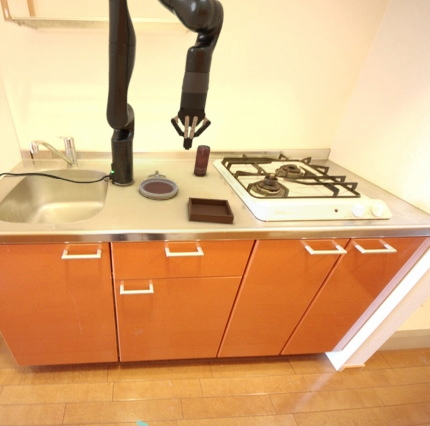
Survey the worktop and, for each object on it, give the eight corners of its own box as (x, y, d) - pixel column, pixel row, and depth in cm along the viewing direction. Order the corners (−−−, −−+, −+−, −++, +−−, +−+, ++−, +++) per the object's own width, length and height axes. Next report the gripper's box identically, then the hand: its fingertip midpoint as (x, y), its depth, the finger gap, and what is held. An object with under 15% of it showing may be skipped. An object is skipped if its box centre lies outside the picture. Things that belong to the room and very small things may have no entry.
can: (193, 176, 111) (197, 148, 103) (193, 171, 116) (197, 144, 109) (206, 177, 110) (211, 149, 103) (205, 172, 115) (210, 145, 108)
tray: (189, 220, 80) (190, 213, 78) (187, 203, 89) (188, 197, 88) (232, 224, 78) (234, 216, 77) (225, 206, 88) (227, 199, 86)
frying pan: (174, 168, 113) (180, 194, 89) (173, 174, 115) (180, 201, 91) (139, 168, 113) (137, 193, 89) (139, 173, 115) (137, 200, 91)
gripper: (216, 90, 68) (205, 147, 78) (172, 88, 70) (167, 144, 79) (219, 92, 62) (208, 154, 72) (171, 90, 63) (166, 151, 73)
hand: (186, 149), depth 76 cm, fingers closed
